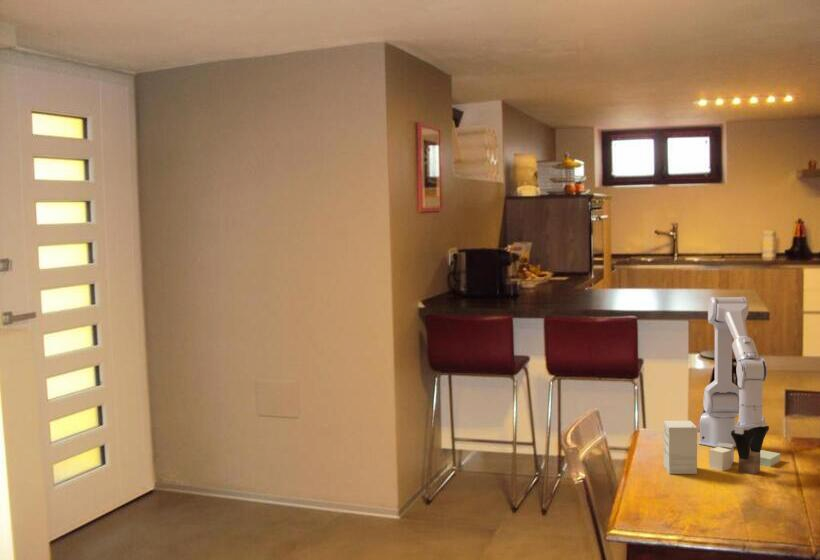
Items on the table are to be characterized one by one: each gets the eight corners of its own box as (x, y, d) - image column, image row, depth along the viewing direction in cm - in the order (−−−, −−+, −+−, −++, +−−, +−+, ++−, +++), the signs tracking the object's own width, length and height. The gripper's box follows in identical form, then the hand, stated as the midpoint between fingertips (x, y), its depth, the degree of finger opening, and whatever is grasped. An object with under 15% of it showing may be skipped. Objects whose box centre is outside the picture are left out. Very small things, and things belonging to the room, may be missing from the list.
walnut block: (738, 471, 227) (738, 453, 226) (744, 468, 229) (745, 450, 229) (753, 475, 224) (754, 456, 223) (759, 471, 227) (760, 452, 226)
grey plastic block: (715, 464, 234) (715, 445, 233) (718, 460, 237) (718, 442, 237) (731, 466, 232) (731, 447, 231) (733, 462, 235) (733, 444, 235)
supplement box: (690, 466, 232) (691, 420, 231) (697, 474, 224) (698, 427, 223) (662, 465, 233) (663, 419, 231) (668, 474, 225) (668, 426, 224)
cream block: (709, 467, 231) (709, 449, 230) (718, 464, 233) (718, 446, 232) (722, 471, 227) (722, 452, 227) (731, 468, 230) (731, 450, 229)
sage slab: (744, 463, 235) (744, 454, 235) (754, 457, 240) (754, 448, 240) (770, 468, 230) (770, 459, 230) (780, 462, 235) (780, 453, 235)
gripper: (754, 412, 217) (753, 464, 218) (777, 402, 227) (775, 452, 229) (727, 407, 222) (726, 459, 223) (750, 398, 232) (749, 447, 234)
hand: (749, 455), depth 226 cm, fingers open, 7 cm apart
